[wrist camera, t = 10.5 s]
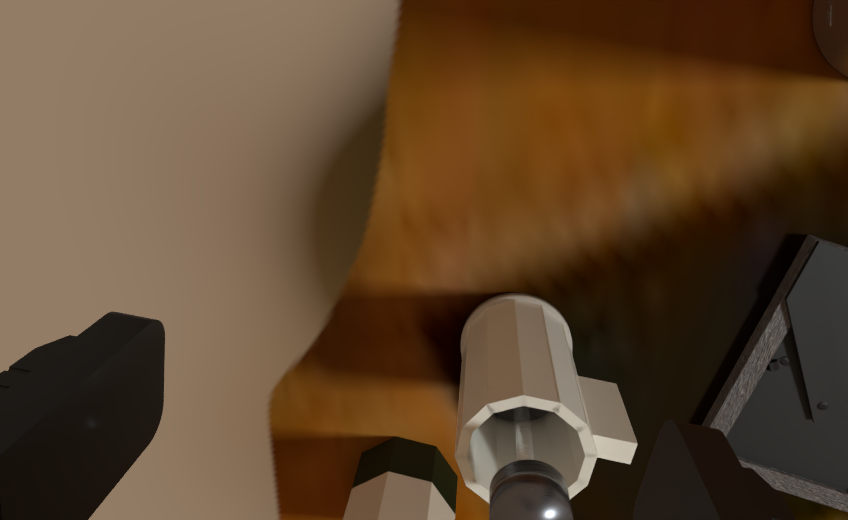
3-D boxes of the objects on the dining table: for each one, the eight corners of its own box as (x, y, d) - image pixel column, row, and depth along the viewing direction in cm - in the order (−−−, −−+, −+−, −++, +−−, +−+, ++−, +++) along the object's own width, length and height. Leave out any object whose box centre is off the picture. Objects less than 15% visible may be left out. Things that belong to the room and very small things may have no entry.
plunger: (569, 354, 41) (603, 494, 29) (548, 424, 42) (572, 582, 30) (487, 337, 41) (487, 469, 29) (470, 407, 43) (463, 558, 31)
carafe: (617, 312, 45) (665, 419, 33) (587, 406, 48) (621, 537, 36) (473, 282, 45) (467, 378, 33) (451, 378, 48) (439, 499, 36)
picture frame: (804, 232, 43) (684, 448, 49) (819, 241, 41) (691, 465, 47) (994, 294, 43) (850, 501, 49) (1017, 307, 41) (864, 521, 47)
